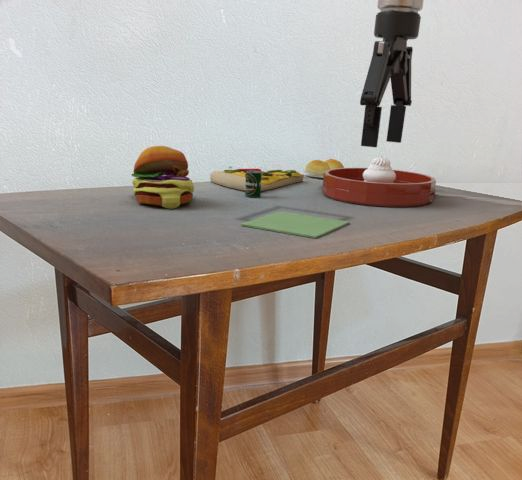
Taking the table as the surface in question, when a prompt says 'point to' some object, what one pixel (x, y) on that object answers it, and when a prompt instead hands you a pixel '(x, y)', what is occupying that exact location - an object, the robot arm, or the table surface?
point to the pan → (378, 188)
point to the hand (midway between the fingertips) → (381, 144)
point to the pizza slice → (268, 179)
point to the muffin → (379, 171)
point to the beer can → (253, 184)
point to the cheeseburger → (162, 178)
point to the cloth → (296, 224)
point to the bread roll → (321, 167)
